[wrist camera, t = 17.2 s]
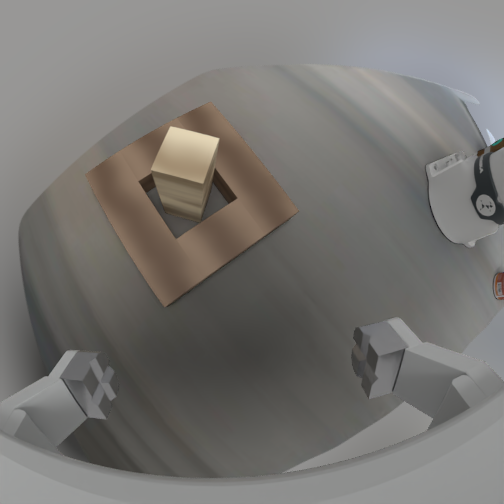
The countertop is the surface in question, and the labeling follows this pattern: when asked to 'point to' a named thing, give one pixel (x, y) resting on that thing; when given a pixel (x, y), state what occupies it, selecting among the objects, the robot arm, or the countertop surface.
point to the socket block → (205, 233)
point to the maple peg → (185, 172)
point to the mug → (492, 147)
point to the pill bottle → (499, 286)
